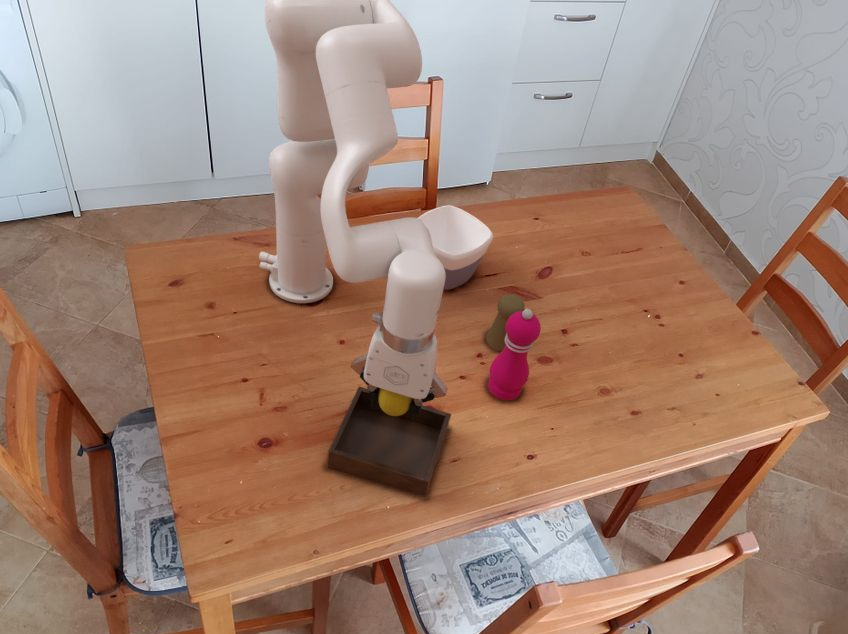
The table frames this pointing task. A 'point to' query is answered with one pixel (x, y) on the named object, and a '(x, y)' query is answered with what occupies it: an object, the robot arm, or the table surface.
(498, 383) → the pepper mill
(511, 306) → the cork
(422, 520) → the table surface
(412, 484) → the dark wooden tray
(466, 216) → the bowl
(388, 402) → the lemon
